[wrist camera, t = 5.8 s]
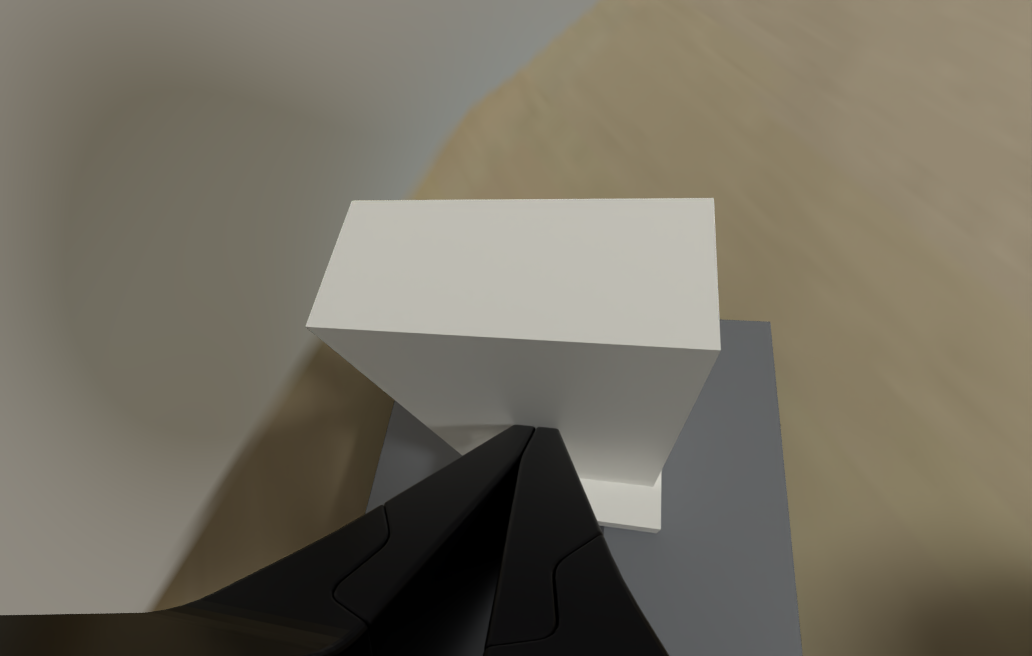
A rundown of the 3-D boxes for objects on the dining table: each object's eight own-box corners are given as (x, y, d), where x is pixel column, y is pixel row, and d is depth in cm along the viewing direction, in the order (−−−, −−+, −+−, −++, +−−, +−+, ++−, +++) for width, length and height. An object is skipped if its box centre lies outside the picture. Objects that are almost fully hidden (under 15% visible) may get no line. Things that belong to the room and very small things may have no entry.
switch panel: (816, 1053, 10) (869, 1177, 8) (297, 879, 12) (236, 937, 10) (757, 341, 17) (777, 309, 15) (432, 324, 19) (411, 295, 17)
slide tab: (656, 533, 13) (748, 450, 4) (472, 508, 14) (261, 402, 6) (658, 392, 15) (728, 137, 6) (494, 380, 16) (359, 149, 7)
